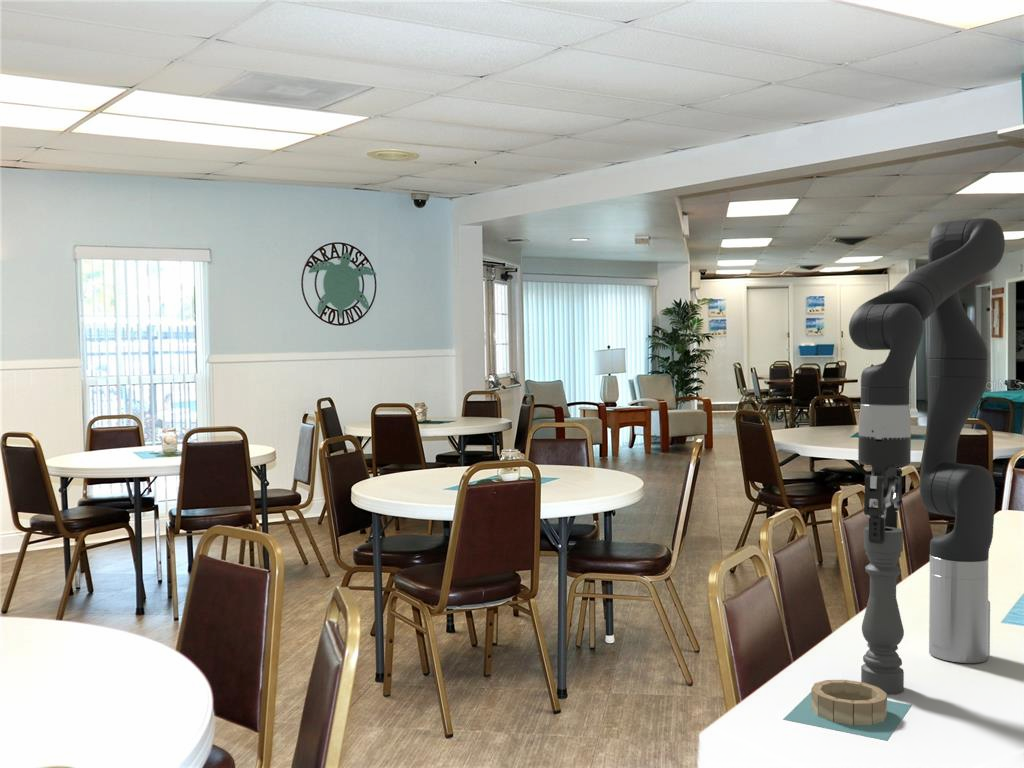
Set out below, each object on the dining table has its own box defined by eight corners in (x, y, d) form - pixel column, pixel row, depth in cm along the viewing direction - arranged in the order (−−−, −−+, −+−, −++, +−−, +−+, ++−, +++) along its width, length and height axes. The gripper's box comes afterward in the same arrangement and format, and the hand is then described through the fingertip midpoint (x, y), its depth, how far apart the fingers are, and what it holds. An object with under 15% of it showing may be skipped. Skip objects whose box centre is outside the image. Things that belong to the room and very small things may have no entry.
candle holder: (877, 698, 145) (878, 533, 145) (852, 685, 151) (853, 526, 151) (912, 695, 147) (913, 531, 146) (886, 682, 153) (887, 525, 152)
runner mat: (815, 689, 149) (815, 687, 149) (911, 707, 141) (911, 704, 141) (783, 722, 136) (783, 719, 136) (887, 743, 128) (887, 740, 128)
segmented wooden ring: (842, 695, 145) (842, 675, 145) (900, 715, 137) (901, 694, 137) (797, 708, 140) (797, 687, 140) (855, 730, 132) (855, 708, 132)
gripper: (870, 430, 156) (869, 530, 156) (847, 435, 144) (846, 543, 145) (919, 432, 152) (918, 534, 152) (900, 437, 140) (898, 548, 140)
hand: (883, 538), depth 148 cm, fingers open, 8 cm apart
